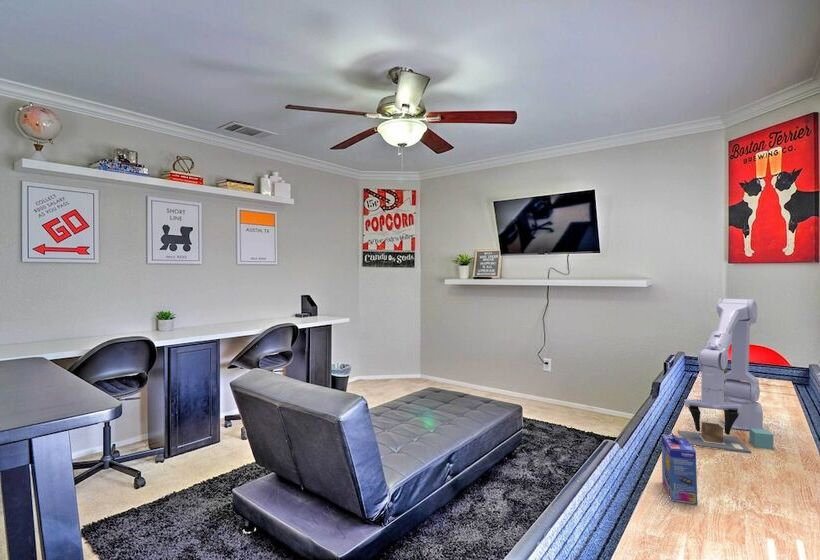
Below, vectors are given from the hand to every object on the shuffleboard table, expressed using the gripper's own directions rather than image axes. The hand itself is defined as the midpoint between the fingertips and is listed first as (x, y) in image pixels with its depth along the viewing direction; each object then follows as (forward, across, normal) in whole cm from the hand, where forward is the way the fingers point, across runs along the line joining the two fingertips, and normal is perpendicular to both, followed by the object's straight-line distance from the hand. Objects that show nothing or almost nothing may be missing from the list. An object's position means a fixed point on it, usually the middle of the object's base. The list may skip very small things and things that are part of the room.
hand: (712, 432), depth 133 cm
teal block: (+3, +13, +2) cm, 14 cm away
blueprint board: (+3, 0, 0) cm, 3 cm away
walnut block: (+2, 0, 0) cm, 2 cm away
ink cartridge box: (+3, -17, -40) cm, 44 cm away
